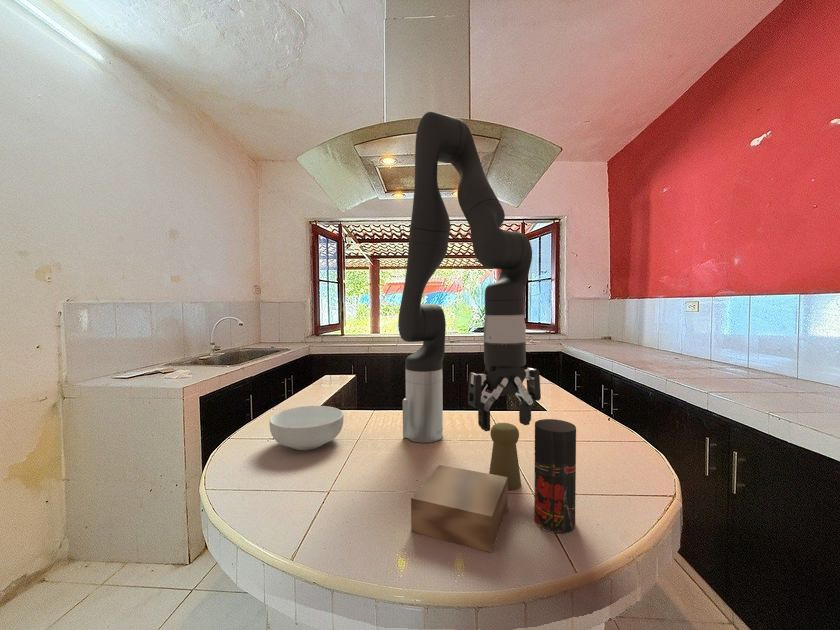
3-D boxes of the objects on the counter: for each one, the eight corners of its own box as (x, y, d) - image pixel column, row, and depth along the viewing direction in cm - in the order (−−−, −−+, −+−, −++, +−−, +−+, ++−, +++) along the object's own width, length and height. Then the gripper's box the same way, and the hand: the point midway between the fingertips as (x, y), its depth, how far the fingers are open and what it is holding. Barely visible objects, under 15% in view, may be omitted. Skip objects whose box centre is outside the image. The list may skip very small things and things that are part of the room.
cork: (522, 492, 65) (522, 431, 65) (487, 489, 67) (487, 429, 66) (520, 476, 71) (520, 420, 71) (488, 473, 73) (488, 418, 72)
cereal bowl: (286, 466, 77) (285, 432, 77) (259, 443, 89) (259, 414, 89) (357, 444, 88) (356, 415, 88) (324, 427, 101) (324, 401, 100)
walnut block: (411, 531, 55) (410, 498, 54) (439, 492, 66) (439, 464, 65) (491, 552, 50) (491, 516, 50) (507, 506, 61) (507, 477, 61)
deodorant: (528, 511, 60) (528, 419, 59) (563, 509, 60) (564, 418, 59) (543, 534, 54) (544, 432, 53) (583, 532, 54) (583, 431, 54)
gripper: (481, 343, 62) (482, 439, 62) (549, 339, 67) (550, 427, 67) (460, 339, 69) (461, 426, 69) (523, 336, 74) (524, 416, 74)
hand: (505, 426), depth 68 cm, fingers open, 8 cm apart
